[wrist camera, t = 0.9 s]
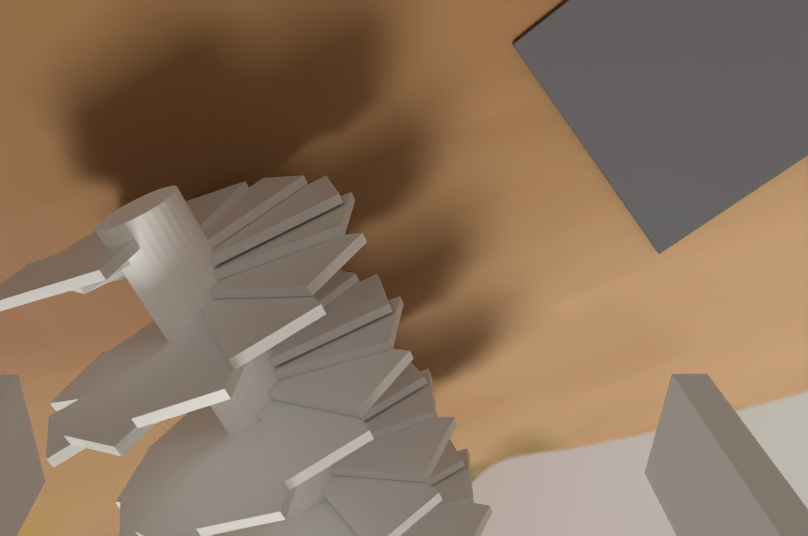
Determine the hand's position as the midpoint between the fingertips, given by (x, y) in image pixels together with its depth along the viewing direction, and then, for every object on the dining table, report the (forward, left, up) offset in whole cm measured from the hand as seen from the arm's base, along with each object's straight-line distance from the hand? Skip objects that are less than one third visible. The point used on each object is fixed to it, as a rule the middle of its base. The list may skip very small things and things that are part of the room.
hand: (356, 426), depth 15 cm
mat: (+11, +17, -26) cm, 33 cm away
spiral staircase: (+8, -13, -27) cm, 31 cm away
